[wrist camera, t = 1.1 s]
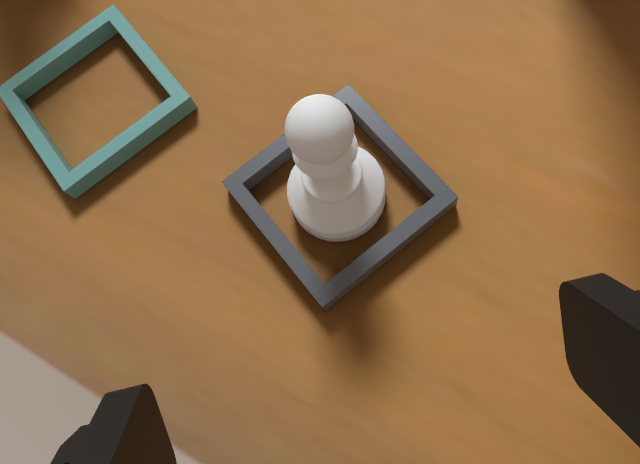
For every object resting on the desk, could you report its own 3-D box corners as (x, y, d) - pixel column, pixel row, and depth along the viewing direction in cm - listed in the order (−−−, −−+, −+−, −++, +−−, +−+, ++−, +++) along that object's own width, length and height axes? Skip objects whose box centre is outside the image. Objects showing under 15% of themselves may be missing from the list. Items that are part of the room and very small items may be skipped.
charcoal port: (350, 95, 32) (348, 84, 31) (456, 205, 29) (458, 196, 28) (228, 190, 31) (221, 181, 30) (325, 311, 29) (322, 307, 27)
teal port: (122, 17, 36) (113, 4, 35) (197, 107, 33) (190, 96, 32) (8, 99, 35) (-5, 89, 34) (75, 199, 32) (63, 191, 31)
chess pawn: (405, 188, 30) (408, 98, 22) (346, 262, 29) (324, 199, 21) (331, 137, 32) (306, 35, 23) (272, 207, 31) (224, 127, 22)
